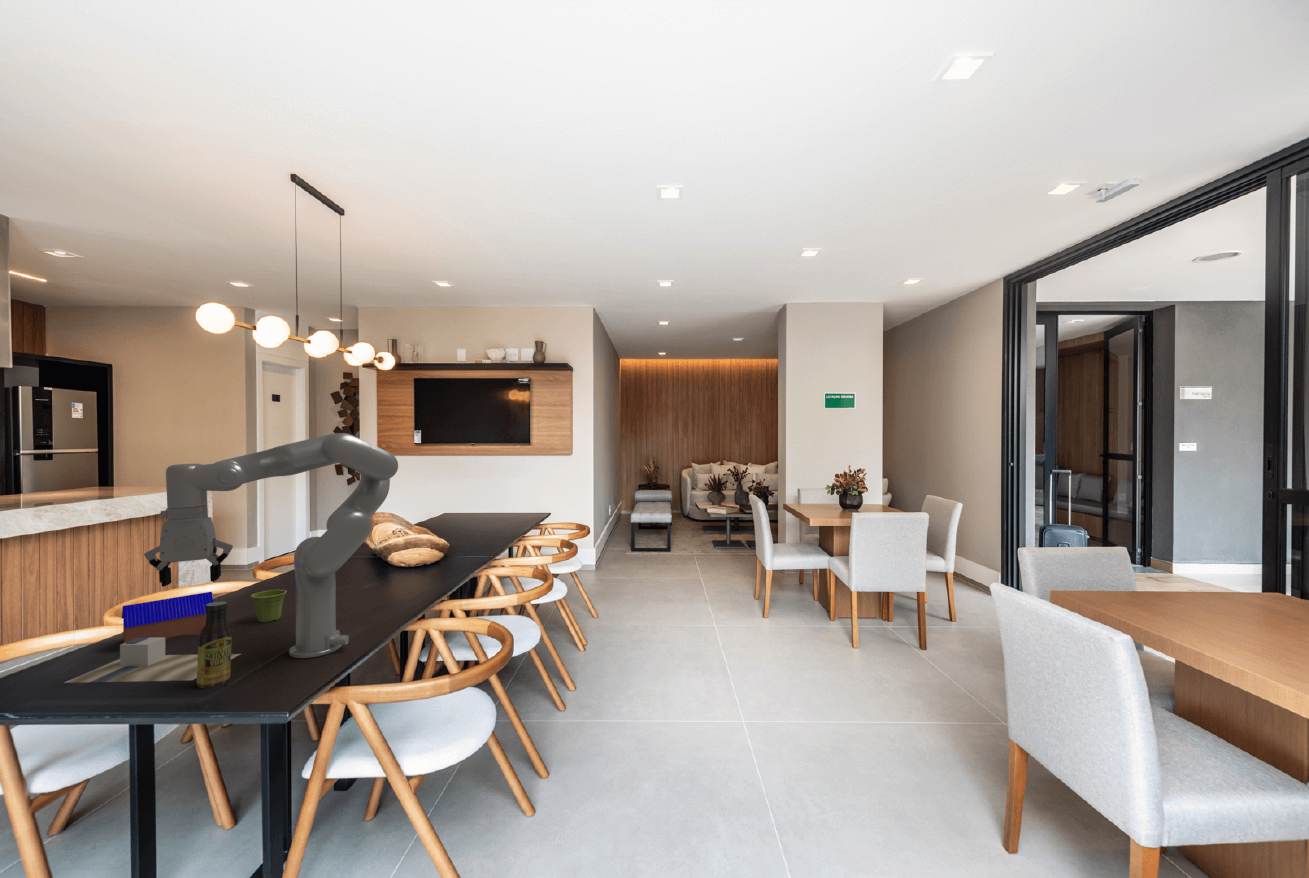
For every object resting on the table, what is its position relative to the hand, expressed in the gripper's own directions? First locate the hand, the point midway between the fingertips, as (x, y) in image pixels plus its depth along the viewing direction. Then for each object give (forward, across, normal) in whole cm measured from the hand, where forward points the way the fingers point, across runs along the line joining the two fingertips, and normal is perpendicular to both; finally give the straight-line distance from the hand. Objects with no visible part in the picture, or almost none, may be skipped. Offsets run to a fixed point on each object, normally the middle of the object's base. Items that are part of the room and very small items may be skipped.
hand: (191, 582), depth 133 cm
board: (+24, -11, +8) cm, 27 cm away
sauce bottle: (+24, +6, -7) cm, 26 cm away
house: (+24, -20, +39) cm, 50 cm away
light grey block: (+22, -16, +13) cm, 31 cm away
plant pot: (+25, +3, +45) cm, 52 cm away
